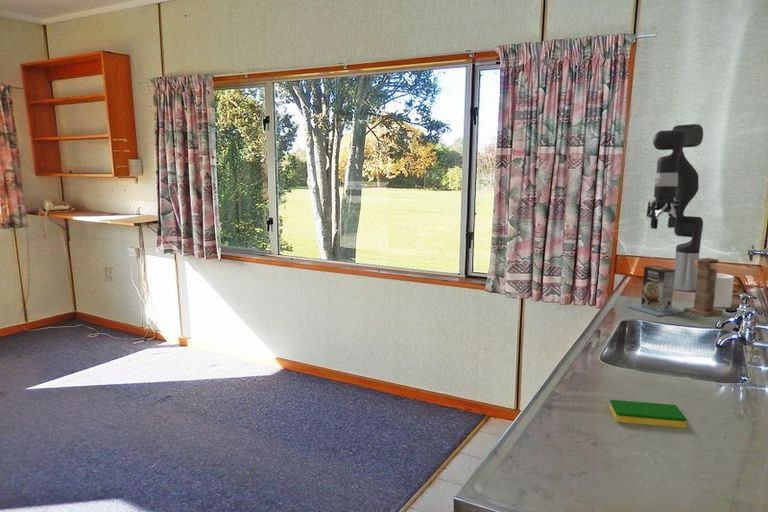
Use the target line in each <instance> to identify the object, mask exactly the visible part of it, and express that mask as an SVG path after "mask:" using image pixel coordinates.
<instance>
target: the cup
mask: <svg viewBox="0 0 768 512" xmlns="http://www.w3.org/2000/svg"><path fill="white" fill-rule="evenodd" d="M734 280H735V277H734V276H733V275H730V274H726V273H719V272H717V276H716V286H715V296H714V306H713V307H725V308H724V309H727V308H726V307H729V308H731V307H732V301H733V300H732V299H733V292H734V291H733V290H734V282H735V281H734Z"/></svg>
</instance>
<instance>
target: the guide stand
mask: <svg viewBox="0 0 768 512" xmlns="http://www.w3.org/2000/svg"><path fill="white" fill-rule="evenodd" d="M710 262H715V263H719V262H720V261H719V259H718V258H711V257H706V258H705V257H703V258H699V259H698V265H697V268H698V271H697V282H696V290H695V292H694V295H695V297H694V303H693V304H694V306H690V307H684V310H683V311H685V312H686V311H687V312H686V313H689V312H691V313H690V314H693V313H694V315H697V314H698V316H700V315H702V316H701V317H708V316H707V315H710V316H715V315H714V314H717V315H722V314H723V310H722V309H720V308H713V306H714V296H715V286H716V276H717V273H718V270H715V269H710V268H709V265H710ZM721 313H722V314H721Z"/></svg>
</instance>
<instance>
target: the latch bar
mask: <svg viewBox="0 0 768 512" xmlns="http://www.w3.org/2000/svg"><path fill="white" fill-rule="evenodd" d="M697 265H698V260H695V262H694V266H697ZM709 268H710V269H715V270H717V271H722V272H726V273H733V274H737V275H738V274H739V275H744V276H750V277H758V276H759V275H760V274H759V272H760V270H759V269H755V268H750V267H745V266H738V265H731V264H726V263H721V262H720V263H719V262H718V263H715V262H710V265H709Z"/></svg>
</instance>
